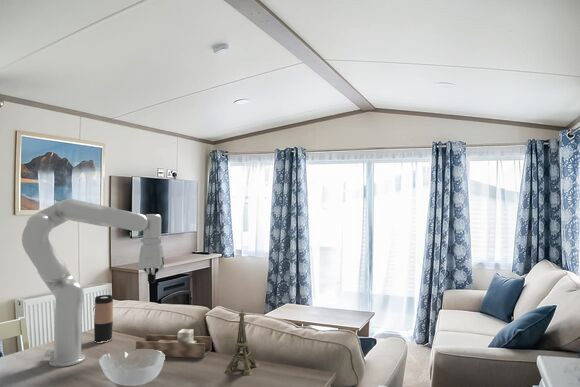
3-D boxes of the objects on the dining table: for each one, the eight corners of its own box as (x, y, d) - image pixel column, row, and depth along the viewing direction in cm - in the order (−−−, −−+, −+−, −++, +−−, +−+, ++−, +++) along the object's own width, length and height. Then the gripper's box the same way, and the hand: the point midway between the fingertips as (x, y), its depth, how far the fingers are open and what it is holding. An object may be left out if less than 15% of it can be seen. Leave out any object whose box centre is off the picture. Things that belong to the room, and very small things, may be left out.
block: (177, 344, 167) (177, 332, 167) (182, 340, 172) (182, 328, 172) (189, 345, 167) (189, 332, 167) (193, 341, 172) (193, 329, 172)
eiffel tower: (259, 364, 156) (259, 299, 157) (250, 375, 146) (250, 305, 147) (233, 362, 159) (233, 298, 160) (223, 372, 148) (223, 304, 149)
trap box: (135, 355, 166) (135, 341, 167) (146, 347, 176) (146, 334, 176) (204, 357, 163) (204, 344, 164) (211, 349, 173) (211, 336, 173)
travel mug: (90, 343, 181) (91, 298, 182) (100, 337, 189) (101, 294, 190) (105, 344, 180) (106, 298, 181) (115, 338, 188) (116, 295, 189)
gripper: (132, 242, 178) (131, 284, 177) (164, 242, 176) (164, 285, 176) (140, 241, 186) (139, 281, 185) (171, 241, 184) (171, 282, 183)
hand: (151, 283), depth 180 cm, fingers closed
